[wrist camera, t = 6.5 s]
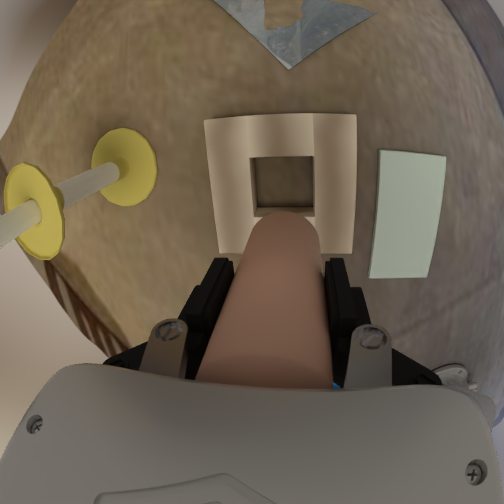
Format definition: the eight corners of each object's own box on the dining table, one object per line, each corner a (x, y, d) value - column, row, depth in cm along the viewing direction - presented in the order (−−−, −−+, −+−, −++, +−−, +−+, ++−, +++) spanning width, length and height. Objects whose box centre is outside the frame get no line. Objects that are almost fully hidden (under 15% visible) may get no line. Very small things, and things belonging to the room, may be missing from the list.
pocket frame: (350, 114, 25) (356, 114, 22) (347, 241, 31) (351, 253, 28) (212, 119, 27) (203, 120, 24) (225, 241, 33) (219, 253, 31)
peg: (320, 211, 15) (343, 355, 6) (318, 275, 17) (325, 430, 8) (246, 211, 16) (179, 347, 7) (252, 274, 17) (209, 422, 9)
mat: (443, 155, 24) (446, 157, 24) (424, 273, 31) (426, 277, 31) (378, 149, 26) (380, 150, 25) (367, 274, 33) (369, 278, 32)
